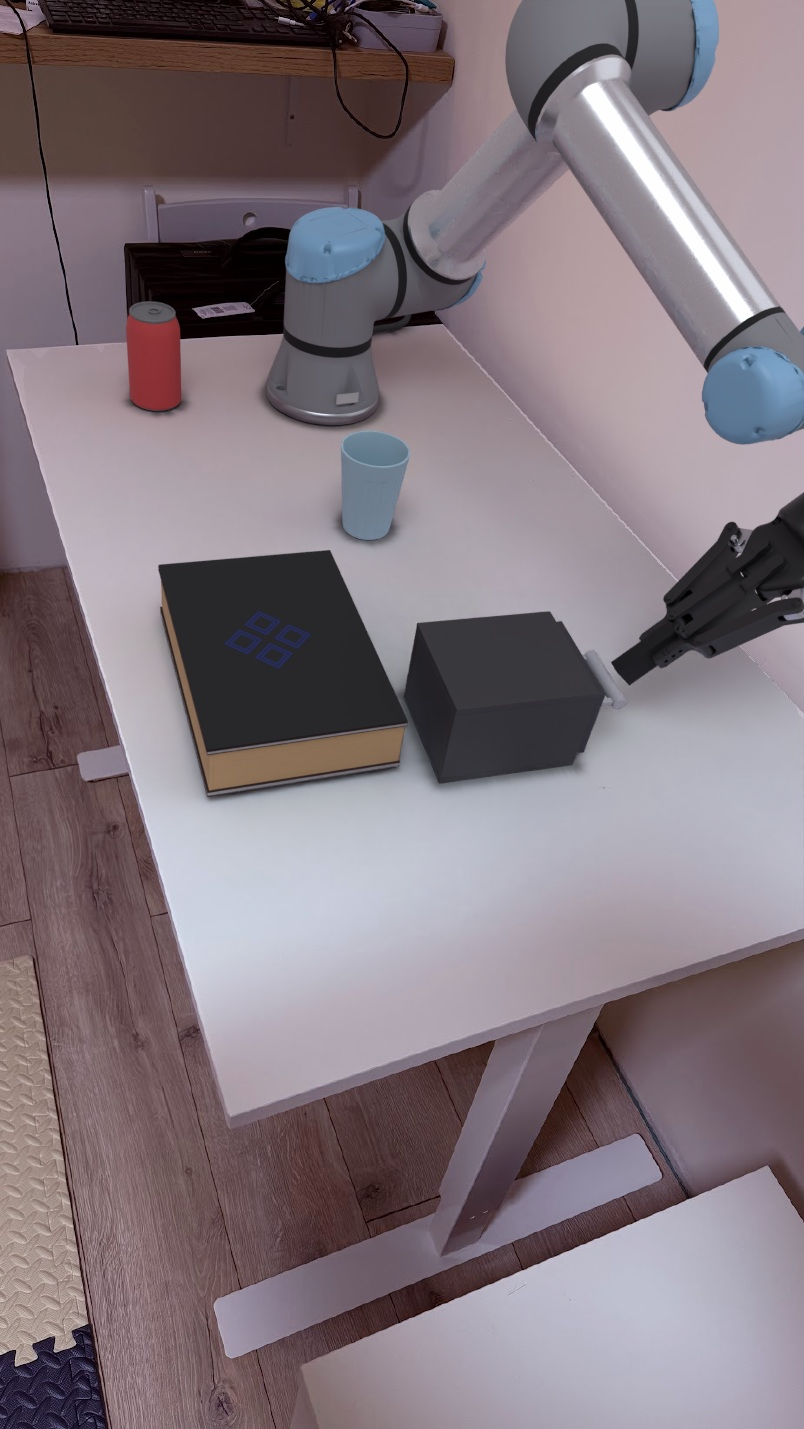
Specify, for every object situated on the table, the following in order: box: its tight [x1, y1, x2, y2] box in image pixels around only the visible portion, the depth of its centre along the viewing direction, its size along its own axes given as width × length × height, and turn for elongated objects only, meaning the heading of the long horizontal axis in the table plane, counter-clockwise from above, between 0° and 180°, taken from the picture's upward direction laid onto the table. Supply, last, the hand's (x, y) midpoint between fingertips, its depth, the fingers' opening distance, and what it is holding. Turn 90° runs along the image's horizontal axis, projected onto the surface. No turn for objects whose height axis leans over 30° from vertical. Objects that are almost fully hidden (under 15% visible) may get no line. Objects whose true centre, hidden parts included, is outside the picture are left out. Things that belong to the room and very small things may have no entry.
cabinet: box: [403, 610, 599, 784], centre depth 94 cm, size 13×11×9 cm
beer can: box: [125, 300, 182, 412], centre depth 128 cm, size 7×7×12 cm
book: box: [157, 549, 409, 798], centre depth 95 cm, size 17×25×7 cm
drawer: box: [556, 620, 627, 754], centre depth 95 cm, size 16×10×8 cm, turn 107°
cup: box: [340, 429, 411, 541], centre depth 115 cm, size 8×8×10 cm
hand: (620, 673), depth 97 cm, fingers closed
